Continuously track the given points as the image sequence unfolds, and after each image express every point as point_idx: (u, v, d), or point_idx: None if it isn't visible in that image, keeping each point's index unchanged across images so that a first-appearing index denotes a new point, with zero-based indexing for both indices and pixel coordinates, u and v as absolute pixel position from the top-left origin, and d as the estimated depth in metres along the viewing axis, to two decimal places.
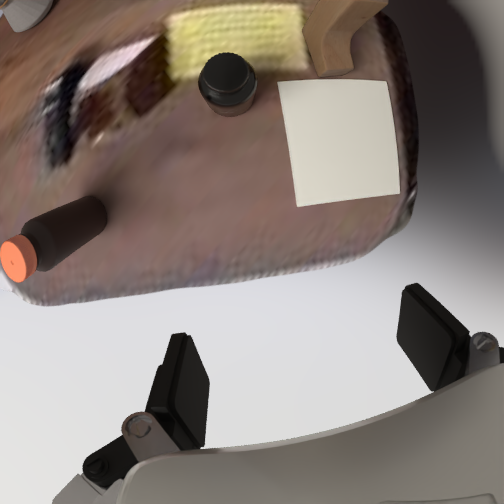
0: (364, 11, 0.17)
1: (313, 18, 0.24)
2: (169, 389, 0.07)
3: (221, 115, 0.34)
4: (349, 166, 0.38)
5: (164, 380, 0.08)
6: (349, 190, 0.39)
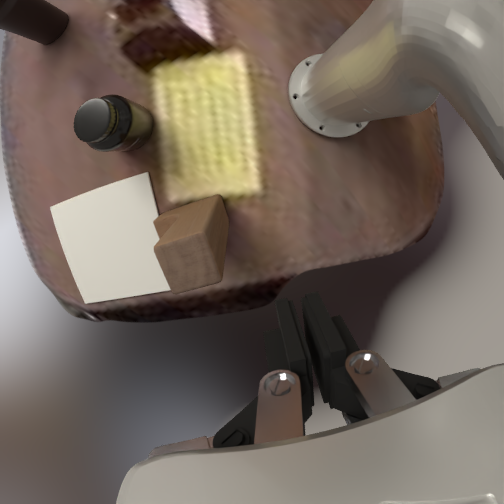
0: None
1: (206, 204, 0.30)
2: (301, 344, 0.08)
3: None
4: (87, 250, 0.38)
5: (291, 337, 0.09)
6: (70, 253, 0.38)
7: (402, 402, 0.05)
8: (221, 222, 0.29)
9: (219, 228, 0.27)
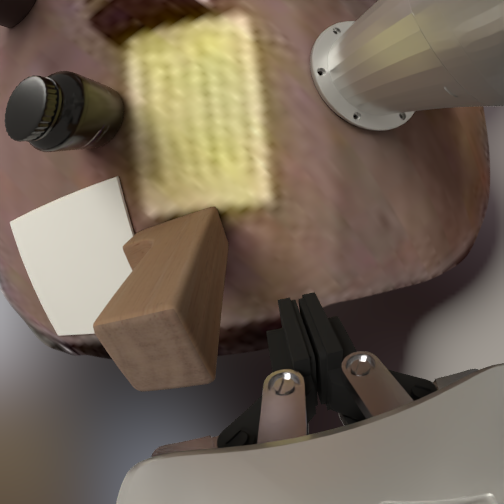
0: None
1: (193, 226, 0.20)
2: (304, 343, 0.08)
3: None
4: (52, 276, 0.28)
5: (295, 336, 0.09)
6: (35, 278, 0.28)
7: (398, 404, 0.05)
8: (215, 255, 0.19)
9: (211, 270, 0.17)
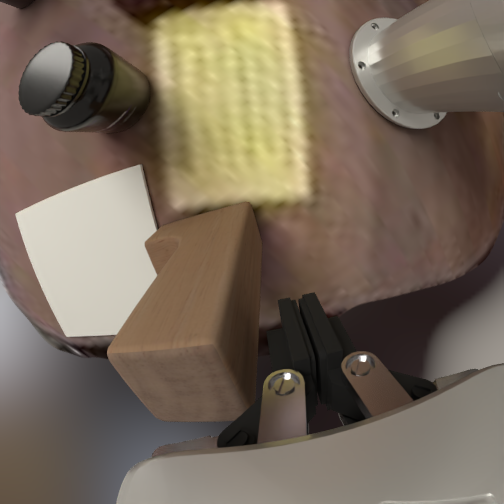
0: None
1: (227, 225, 0.18)
2: (304, 343, 0.08)
3: None
4: (62, 273, 0.26)
5: (295, 337, 0.09)
6: (43, 275, 0.26)
7: (398, 404, 0.05)
8: (252, 260, 0.17)
9: (249, 280, 0.14)
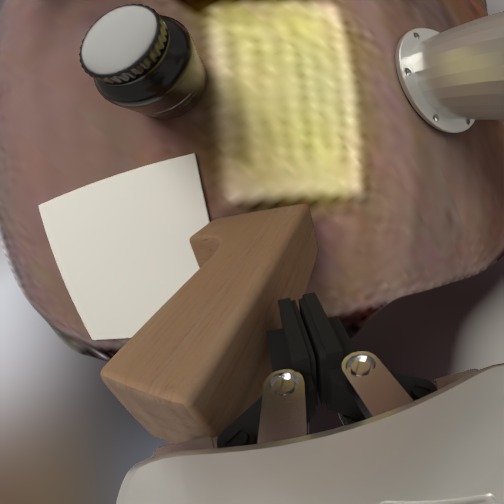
0: None
1: (271, 235, 0.16)
2: (304, 343, 0.08)
3: None
4: (93, 270, 0.26)
5: (295, 336, 0.09)
6: (69, 273, 0.26)
7: (398, 404, 0.05)
8: (292, 279, 0.15)
9: (277, 308, 0.13)
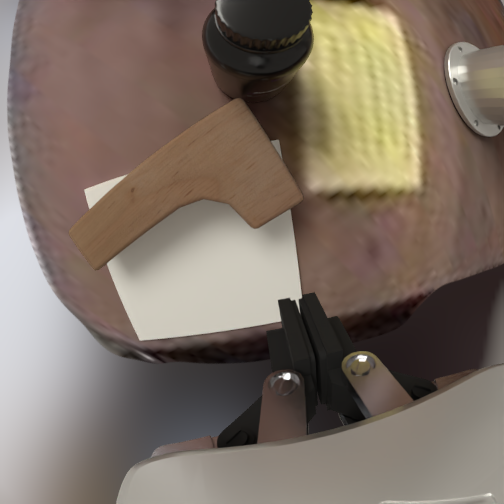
0: None
1: None
2: (304, 343, 0.08)
3: None
4: (152, 262, 0.25)
5: (295, 337, 0.09)
6: (119, 266, 0.25)
7: (398, 404, 0.05)
8: None
9: None
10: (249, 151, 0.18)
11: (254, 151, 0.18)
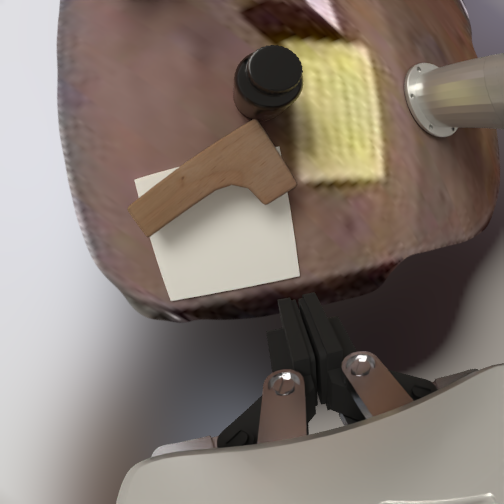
0: None
1: None
2: (304, 343, 0.08)
3: None
4: (186, 234, 0.35)
5: (295, 337, 0.09)
6: (160, 238, 0.35)
7: (398, 404, 0.05)
8: None
9: None
10: (262, 154, 0.28)
11: (265, 154, 0.28)
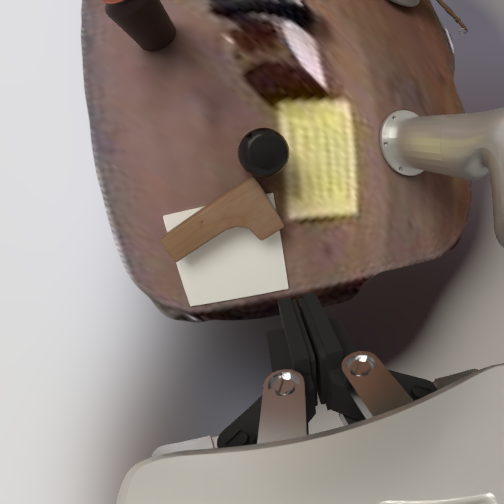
0: None
1: None
2: (304, 343, 0.08)
3: None
4: (203, 258, 0.48)
5: (295, 337, 0.09)
6: (183, 260, 0.48)
7: (398, 404, 0.05)
8: (210, 204, 0.42)
9: (196, 213, 0.43)
10: (259, 205, 0.40)
11: (261, 204, 0.40)
